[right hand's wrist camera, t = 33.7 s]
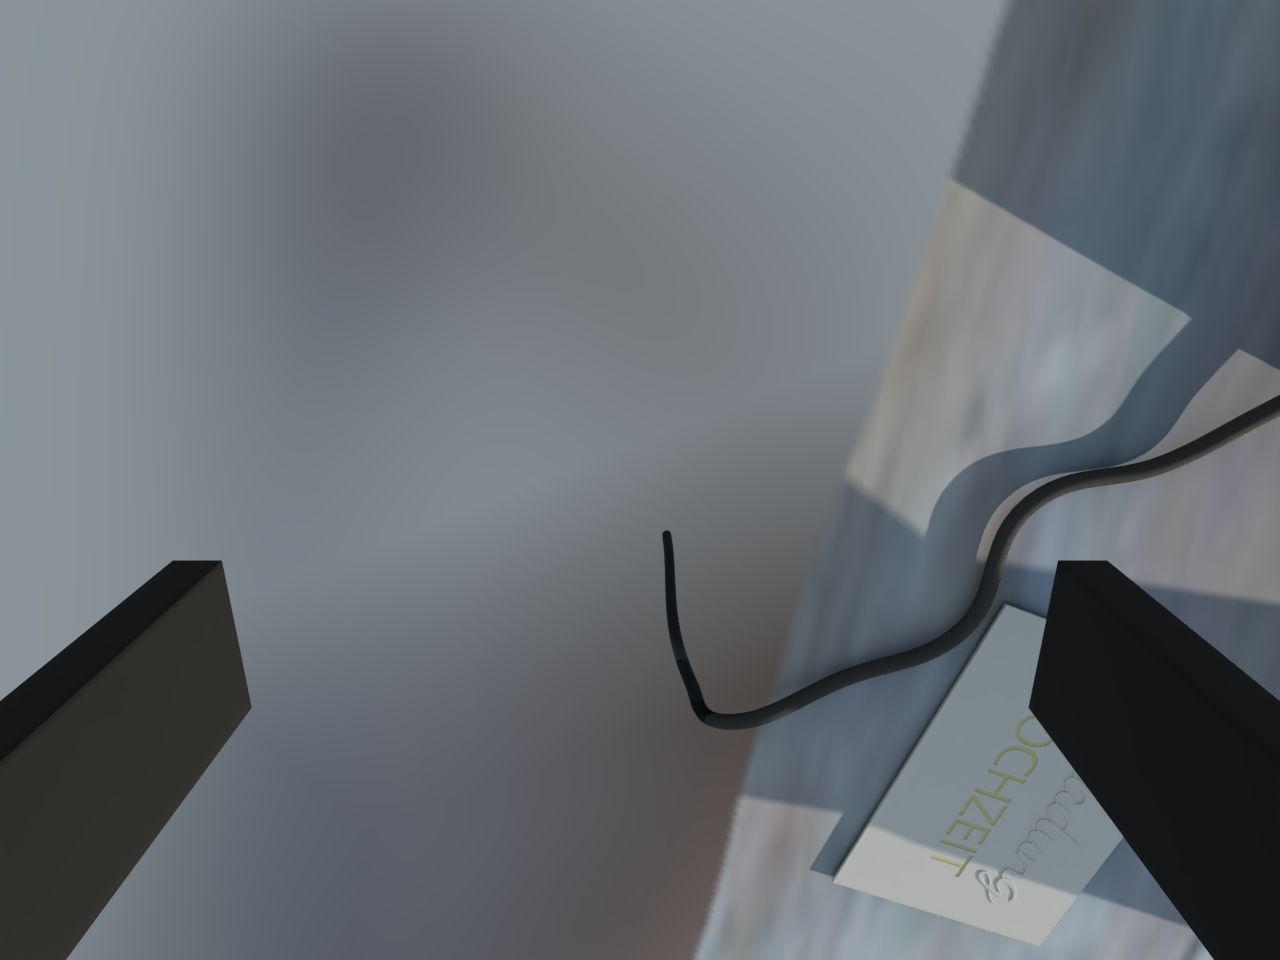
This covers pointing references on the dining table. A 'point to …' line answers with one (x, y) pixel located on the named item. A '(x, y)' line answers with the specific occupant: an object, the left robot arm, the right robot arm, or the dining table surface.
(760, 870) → the dining table surface
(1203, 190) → the dining table surface
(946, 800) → the invitation card
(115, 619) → the right robot arm
